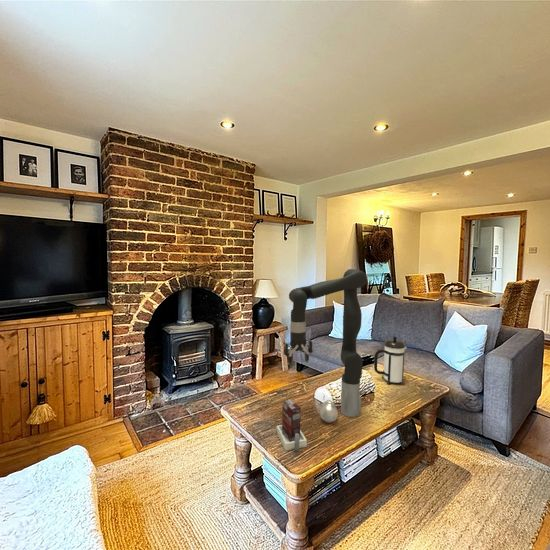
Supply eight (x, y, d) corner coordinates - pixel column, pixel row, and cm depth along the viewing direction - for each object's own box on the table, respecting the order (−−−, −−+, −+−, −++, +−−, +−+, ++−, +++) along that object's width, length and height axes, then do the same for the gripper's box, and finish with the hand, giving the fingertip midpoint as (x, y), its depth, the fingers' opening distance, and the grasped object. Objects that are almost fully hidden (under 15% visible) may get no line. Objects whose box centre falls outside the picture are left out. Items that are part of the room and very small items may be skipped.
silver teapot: (340, 418, 153) (340, 399, 152) (335, 428, 145) (335, 408, 144) (322, 413, 157) (323, 395, 156) (317, 423, 149) (317, 403, 148)
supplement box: (281, 433, 139) (281, 400, 137) (290, 431, 141) (290, 398, 140) (291, 444, 131) (291, 409, 130) (300, 441, 133) (301, 407, 132)
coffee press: (387, 374, 208) (388, 331, 205) (409, 382, 196) (412, 337, 193) (372, 381, 197) (374, 336, 194) (396, 390, 185) (398, 342, 182)
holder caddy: (294, 426, 146) (294, 412, 145) (308, 449, 129) (308, 433, 128) (275, 429, 143) (275, 415, 142) (286, 453, 126) (287, 437, 126)
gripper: (308, 326, 153) (308, 358, 154) (281, 329, 148) (282, 361, 150) (314, 330, 145) (314, 363, 147) (286, 333, 141) (287, 367, 143)
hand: (298, 362), depth 148 cm, fingers open, 8 cm apart
